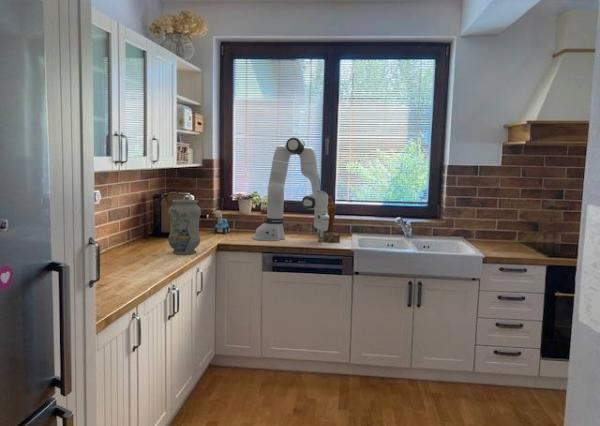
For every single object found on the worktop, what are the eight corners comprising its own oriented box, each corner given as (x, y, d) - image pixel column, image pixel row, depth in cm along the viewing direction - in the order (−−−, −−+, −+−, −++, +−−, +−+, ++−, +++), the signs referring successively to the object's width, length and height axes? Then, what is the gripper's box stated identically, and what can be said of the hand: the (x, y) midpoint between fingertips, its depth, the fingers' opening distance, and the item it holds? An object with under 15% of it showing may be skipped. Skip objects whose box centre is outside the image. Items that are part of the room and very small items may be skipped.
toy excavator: (210, 234, 350) (210, 210, 348) (219, 231, 366) (219, 208, 364) (222, 235, 348) (222, 211, 346) (230, 232, 364) (230, 208, 362)
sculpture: (316, 235, 360) (318, 194, 357) (327, 235, 364) (329, 194, 361) (324, 238, 348) (326, 195, 345) (336, 237, 352) (337, 195, 349)
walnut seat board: (327, 242, 331) (327, 235, 331) (322, 240, 341) (322, 232, 340) (339, 242, 334) (340, 235, 333) (334, 239, 343) (335, 232, 343)
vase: (174, 249, 291) (174, 198, 288) (204, 250, 289) (205, 199, 286) (163, 254, 273) (163, 200, 270) (195, 256, 271) (195, 201, 268)
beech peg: (318, 242, 331) (318, 227, 330) (317, 241, 334) (317, 226, 333) (323, 242, 332) (323, 227, 331) (321, 241, 335) (322, 226, 334)
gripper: (311, 213, 340) (311, 233, 342) (321, 217, 321) (320, 238, 322) (320, 213, 342) (319, 233, 343) (330, 217, 322) (329, 238, 324)
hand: (320, 235), depth 333 cm, fingers closed on beech peg, 3 cm apart
